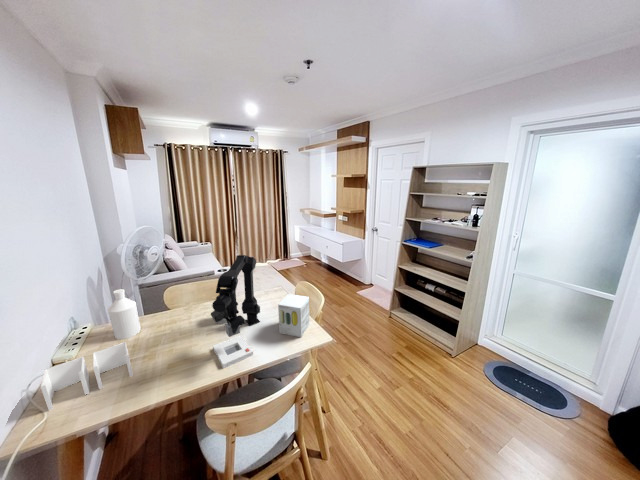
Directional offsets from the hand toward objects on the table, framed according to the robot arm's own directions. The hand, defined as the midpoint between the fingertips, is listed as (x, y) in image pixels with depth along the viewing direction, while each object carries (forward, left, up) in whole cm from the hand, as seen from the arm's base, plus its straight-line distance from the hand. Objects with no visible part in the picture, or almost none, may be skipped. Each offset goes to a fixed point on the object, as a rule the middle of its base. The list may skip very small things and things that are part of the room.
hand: (232, 330), depth 119 cm
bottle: (-50, -41, -12) cm, 66 cm away
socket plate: (0, -1, -11) cm, 11 cm away
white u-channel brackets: (-16, -53, -12) cm, 56 cm away
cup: (-31, +4, -12) cm, 33 cm away
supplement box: (+2, +33, -12) cm, 35 cm away
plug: (0, 0, -1) cm, 1 cm away
